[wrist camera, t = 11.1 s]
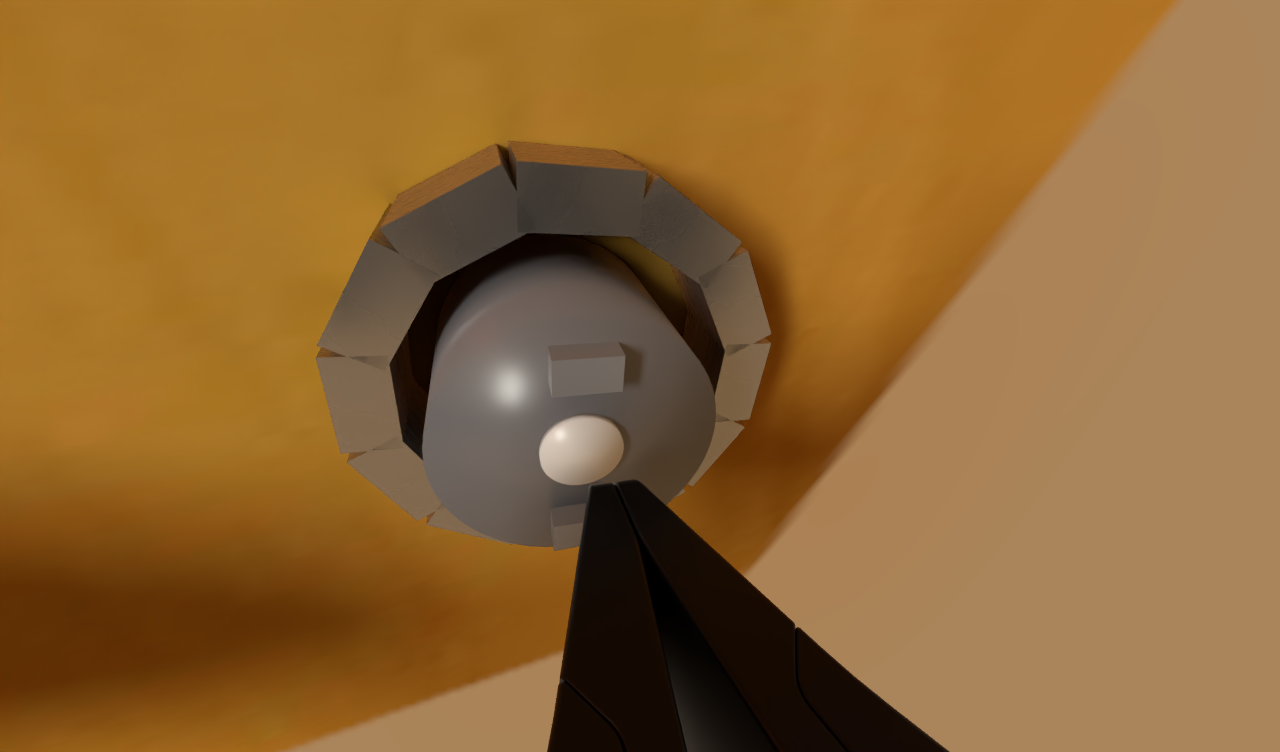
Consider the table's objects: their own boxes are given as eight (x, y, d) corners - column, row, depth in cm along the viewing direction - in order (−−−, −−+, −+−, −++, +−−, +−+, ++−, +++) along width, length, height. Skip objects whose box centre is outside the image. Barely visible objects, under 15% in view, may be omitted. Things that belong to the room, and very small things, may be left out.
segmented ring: (385, 494, 14) (370, 567, 12) (306, 122, 9) (258, 140, 7) (692, 461, 17) (721, 515, 15) (758, 163, 12) (817, 184, 10)
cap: (452, 432, 14) (442, 588, 10) (421, 233, 11) (390, 337, 7) (642, 413, 15) (702, 540, 11) (661, 234, 12) (752, 319, 8)
